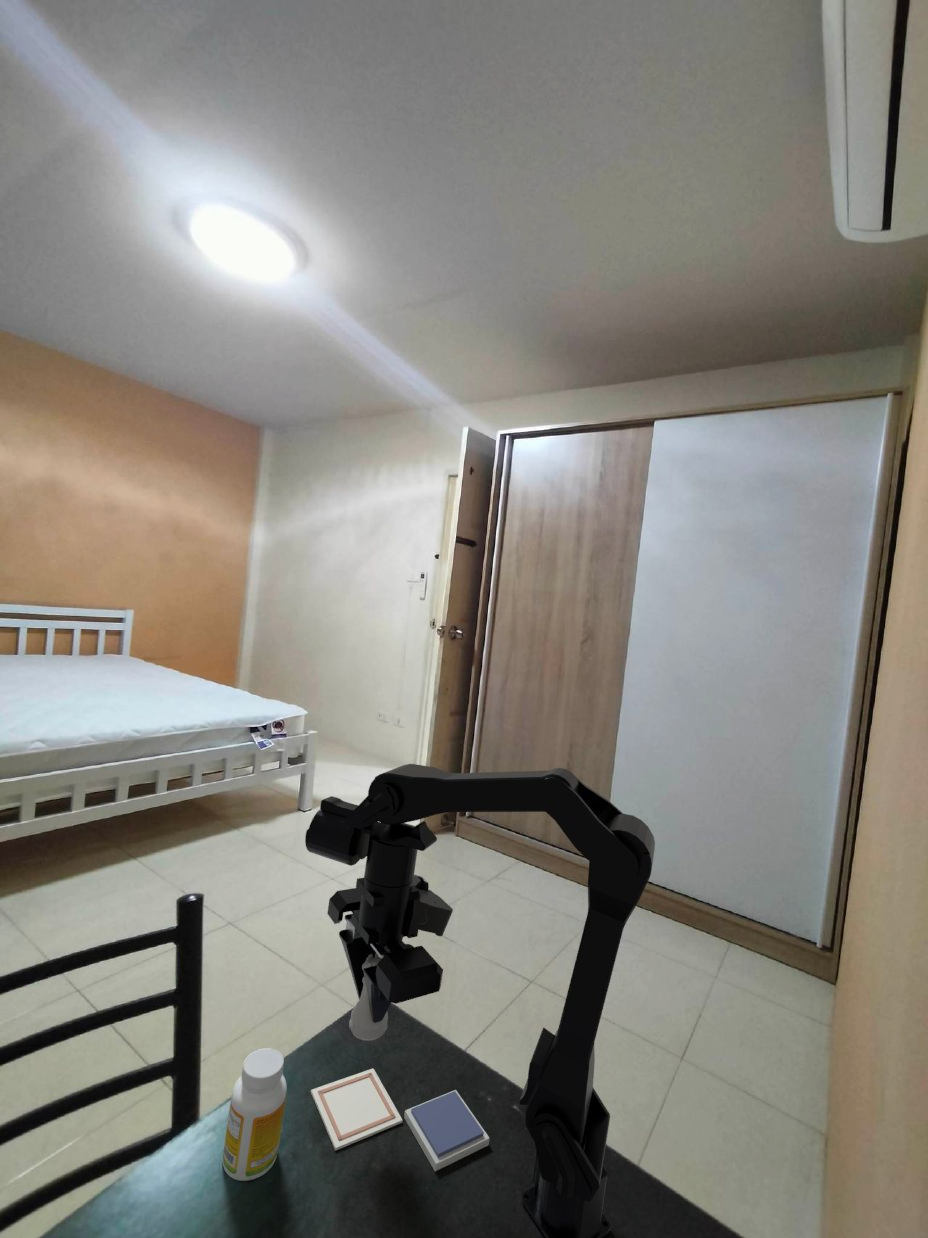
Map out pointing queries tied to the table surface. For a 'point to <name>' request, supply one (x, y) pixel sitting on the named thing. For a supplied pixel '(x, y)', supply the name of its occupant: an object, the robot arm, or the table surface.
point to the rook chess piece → (366, 1012)
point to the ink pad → (446, 1129)
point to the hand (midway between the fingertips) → (370, 1010)
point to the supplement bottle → (255, 1116)
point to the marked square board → (355, 1108)
